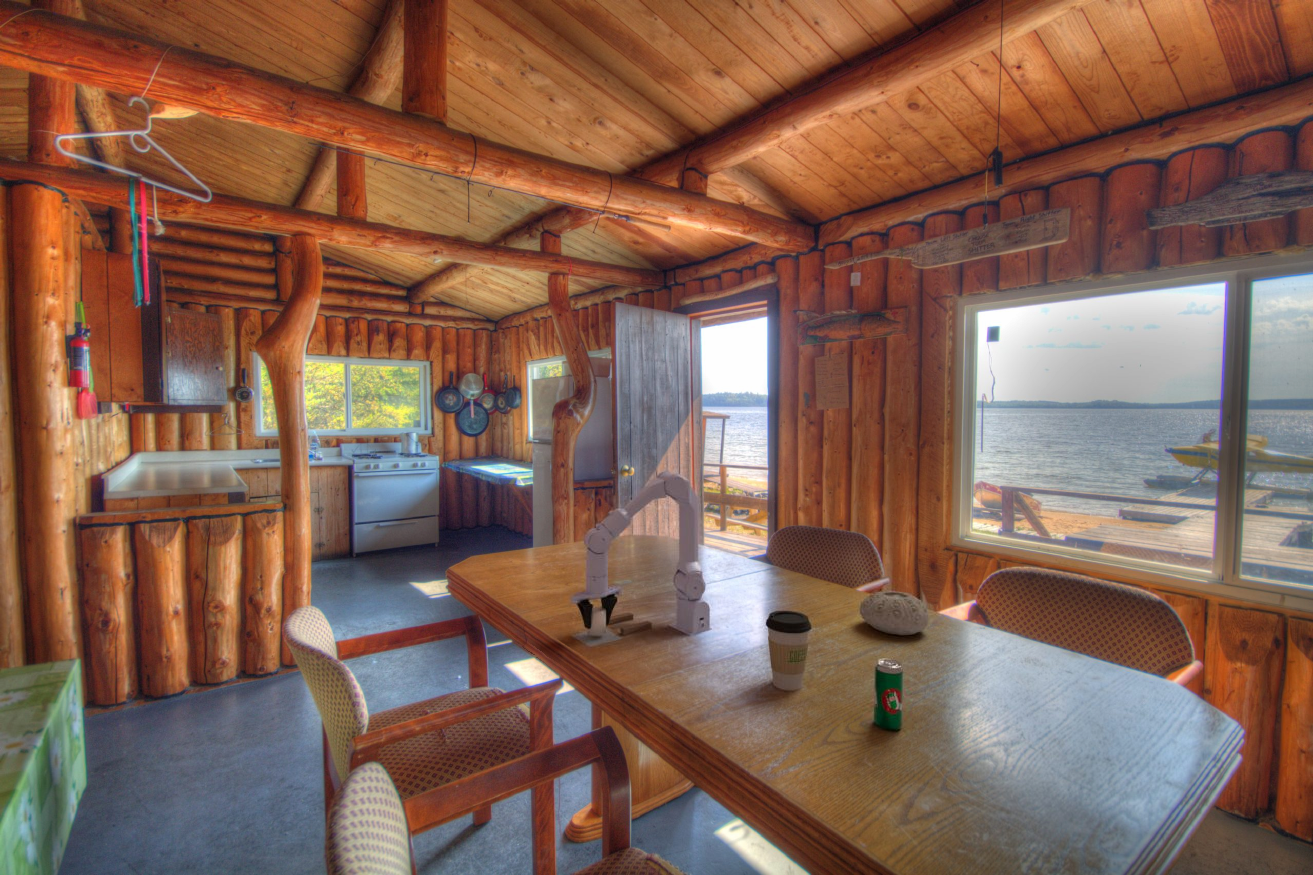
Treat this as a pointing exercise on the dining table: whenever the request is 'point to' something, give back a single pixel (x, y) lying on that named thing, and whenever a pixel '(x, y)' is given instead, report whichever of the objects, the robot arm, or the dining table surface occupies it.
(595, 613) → the cream jug
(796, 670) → the coffee cup
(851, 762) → the dining table surface
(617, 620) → the walnut cradle
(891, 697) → the soda can
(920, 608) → the decorative shell
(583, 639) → the grey mat
